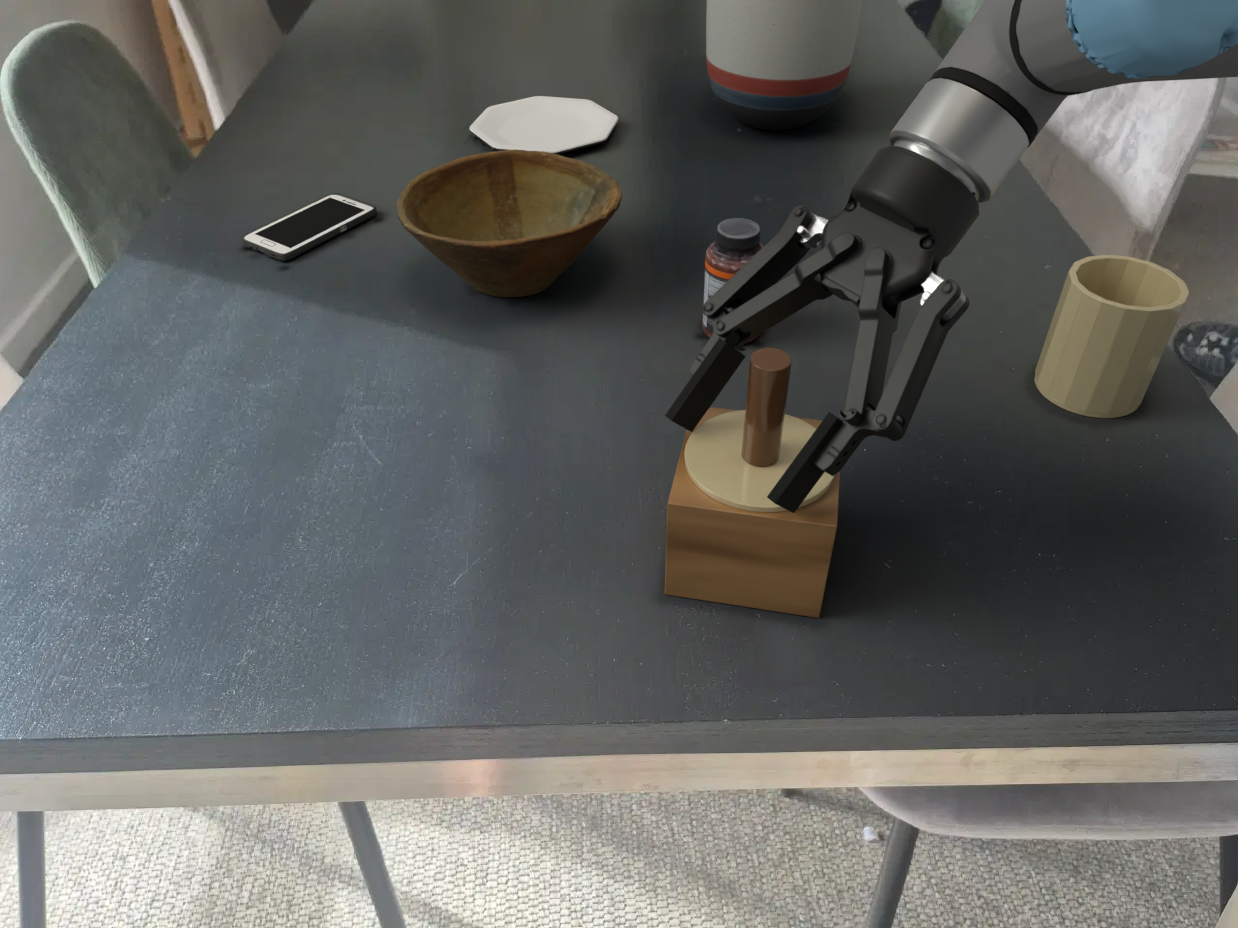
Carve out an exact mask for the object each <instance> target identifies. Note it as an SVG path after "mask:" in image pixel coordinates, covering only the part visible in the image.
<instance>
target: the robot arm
mask: <svg viewBox="0 0 1238 928" xmlns="http://www.w3.org/2000/svg"><path fill="white" fill-rule="evenodd" d="M1224 78H1226V79H1227V78H1238V0H984V1H982V4H981V5H980V6H979V8H978V9H977V11H976V12H975V13H974V14H973V16H972V18H971V19H970V21H968V24H967V25H966V26H965V27H964V29H963V30H962V32H961V34H960V35H959V37H958V38H957V39H956V41H955V42H954V44H953V45H952V46H951V48H950V49H949V51H948V52H947V54H946V55H945V56H944V57H943V59H942V60H941V62H940V64H939V65H938V66H937V68H936V69H935V71H934V72H933V74H932V75H931V76H930V77H929V79H928V81H927V82H926V83H925V84H924V86H923V87H922V88H921V90H920V91H919V92H918V94H917V95H916V97H915V98H914V99H913V101H912V102H911V104H909V106H908V108H907V109H906V111H905V112H904V113H903V115H902V116H901V117H900V118H899V120H898V122H896V124H895V126H894V127H893V129H892V130H891V131H890V132H889V134H888V135H889V136H888V140H889V143H890V145H887V146H884V147H881V148H879V150H878V151H877V152H876V153H875V155H874V156H873V158H872V159H871V160H870V162H869V164H867V166H866V168H865V169H864V171H863V172H862V173H861V175H860V176H859V177H858V179H857V180H856V182H855V183H854V184H853V186H852V188H851V189H850V194H849V197H848V200H847V202H846V205H845V206H844V208H843V209H842V210H840V211H839V213H837V214H836V215H834V216H832V217H831V218H829V219H827V218H825V217H822V216H820V215H817V214H814V213H813V212H812V211H811V210H810V209H809V208H808V207H807V206H806V205H805V204H803V203H800V204H797V205H796V206H794V207H793V208H792V209H791V211H790V213H789V214H788V216H787V218H786V219H785V221H784V223H783V224H782V226H781V228H780V229H779V231H778V232H777V233H775V235H774V236H772V237H771V239H770V240H768V241H767V242H766V244H765V245H763V246H764V247H763V248H762V249H761V250H759V251H758V252H757V253H756V254H755V255H754V256H753V257H752V258H751V259H750V260H749V261H748V262H747V263H746V264H745V265H744V266H743V267H742V268H741V269H740V270H739V271H738V272H737V273H735V274H734V275H733V276H732V277H731V278H730V279H729V280H728V281H727V282H726V283H725V284H724V285H723V286H722V287H721V288H720V289H719V290H718V291H717V292H716V293H715V294H714V295H713V296H711V297H710V298H709V299H708V300H707V301H706V302H705V304H704V305H703V304H702V307H703V308H702V307H701V312H702V315H703V314H705V315H706V316H707V317H708V319H709V321H710V322H711V324H712V326H713V333H712V336H711V337H710V338H708V340H707V341H706V343H705V344H704V346H702V347H703V348H702V349H701V350H700V352H699V353H698V354H697V356H696V358H695V359H694V360H693V362H692V363H691V365H690V367H689V368H690V369H689V370H688V372H689V373H690V374H691V375H692V376H691V378H690V379H689V380H688V381H687V383H686V385H685V386H684V387H683V389H682V390H681V392H680V393H679V394H678V396H677V398H676V399H675V400H674V402H673V403H672V404H671V406H670V407H669V409H668V410H667V411H666V413H665V415H664V417H666V418H667V419H668V420H669V421H671V422H672V423H675V424H676V425H677V426H679V427H682V428H683V429H685V430H689V431H691V432H692V431H693V430H694V429H695V427H696V426H697V424H698V423H699V422H700V420H701V419H702V417H703V416H704V415H705V413H706V412H707V410H708V409H709V407H712V405H713V403H714V402H715V400H716V399H717V398H718V396H719V395H720V393H721V392H722V391H723V390H724V388H725V386H726V385H727V384H728V382H729V381H730V380H731V378H732V377H733V375H734V374H735V372H736V371H737V370H738V368H739V367H740V365H741V364H742V363H743V361H744V360H745V358H746V355H744V354H743V353H742V352H744V351H746V348H745V344H747V343H746V342H748V341H750V340H751V339H753V338H755V337H756V336H758V335H759V336H760V335H762V334H763V333H765V332H766V331H768V330H769V329H771V328H773V327H774V326H777V324H779V323H781V322H782V321H784V320H786V319H787V318H790V317H791V316H792V315H794V314H796V313H797V312H799V311H800V310H802V309H804V308H805V307H807V306H808V305H810V304H812V303H813V302H815V301H823V300H827V299H828V298H830V297H831V296H835V297H837V298H838V299H840V300H842V301H846V302H851V303H852V304H854V305H855V306H856V308H858V316H859V325H858V329H857V330H858V331H857V334H856V335H857V336H856V342H855V345H854V346H855V347H854V352H853V357H852V363H851V369H850V374H849V380H848V386H847V391H846V396H845V402H844V407H843V409H838V410H837V414H838V416H836V415H835V414H833V413H831V411H829V412H828V413H827V414H826V415H825V416H824V418H823V419H822V420H823V421H822V422H821V424H820V425H819V426H818V428H817V429H816V430H815V432H814V433H813V435H812V436H811V437H810V439H809V440H808V441H807V443H806V444H805V445H804V447H803V448H802V450H801V451H800V452H799V454H798V455H797V456H796V458H795V459H794V460H793V462H792V463H791V465H790V466H789V467H788V469H787V470H786V471H785V473H784V474H783V476H782V477H781V478H780V480H779V481H778V482H777V484H776V485H775V486H774V488H773V489H772V491H771V492H770V493H769V495H768V496H767V498H769V499H770V500H771V501H772V502H774V503H775V504H777V505H779V506H781V507H783V508H784V509H786V510H788V511H790V512H792V513H795V511H796V510H797V509H798V507H799V506H800V505H801V503H802V502H803V501H804V499H805V498H806V496H807V495H808V494H809V492H810V491H811V490H812V488H813V487H814V486H815V484H816V483H817V482H818V480H819V479H820V478H821V476H822V475H823V473H824V472H826V473H828V474H830V475H831V476H834V475H835V474H837V473H838V472H840V473H841V471H842V469H843V467H844V466H845V465H846V464H847V463H848V461H849V459H850V458H851V457H852V455H853V454H854V453H855V451H856V450H857V449H858V447H859V446H860V445H861V443H862V442H863V441H864V440H865V439H866V438H868V437H871V436H876V437H881V438H884V439H885V438H886V439H888V440H890V441H891V442H897V441H900V440H902V439H903V437H904V436H905V434H906V432H907V430H908V427H909V425H910V423H911V420H912V418H913V416H914V413H915V411H916V408H917V406H918V404H919V401H920V399H921V396H922V395H923V392H924V389H925V387H926V385H927V383H928V381H929V378H930V376H931V373H932V371H933V368H934V366H935V364H936V361H937V359H938V356H939V355H940V352H941V350H942V347H943V346H944V343H945V340H946V338H947V335H948V334H949V331H951V329H952V328H953V327H954V325H955V324H956V323H957V322H958V321H959V320H960V319H961V317H962V316H963V315H964V314H965V313H966V311H967V310H968V309H969V307H970V305H971V302H970V299H969V297H968V296H967V294H965V292H964V291H963V289H962V288H961V287H960V285H959V284H958V283H957V281H956V280H954V279H950V278H949V279H948V278H947V279H944V278H942V277H941V276H939V275H938V271H939V267H940V265H941V263H942V261H943V260H944V259H946V258H947V257H949V256H950V255H951V254H952V253H953V251H954V250H955V249H956V248H957V246H958V245H959V244H960V242H961V240H963V238H964V237H965V235H966V234H967V232H968V231H969V230H970V228H971V227H972V226H973V224H974V223H975V221H976V220H977V219H978V217H980V204H983V203H985V202H988V201H990V200H991V198H992V197H993V195H994V194H995V193H996V192H997V190H998V189H999V188H1000V186H1001V185H1002V184H1003V182H1004V181H1005V180H1006V179H1007V177H1008V176H1009V175H1010V173H1011V171H1012V170H1013V169H1014V168H1015V166H1016V165H1017V163H1019V161H1020V160H1021V158H1022V157H1023V155H1024V154H1025V153H1026V151H1027V150H1028V148H1030V146H1032V144H1033V142H1034V141H1035V140H1036V137H1037V136H1038V135H1039V133H1041V131H1042V130H1043V128H1044V127H1045V125H1047V123H1048V122H1049V121H1050V119H1051V118H1052V116H1054V114H1055V112H1056V111H1057V110H1058V108H1059V107H1060V106H1061V104H1062V103H1063V102H1064V101H1065V100H1066V99H1067V98H1068V97H1070V96H1075V95H1081V94H1085V93H1088V92H1089V93H1090V92H1093V91H1096V90H1100V89H1101V90H1102V89H1106V88H1110V87H1115V86H1119V85H1120V86H1121V85H1126V84H1135V83H1147V82H1165V81H1167V82H1169V81H1188V80H1206V79H1207V80H1208V79H1224ZM820 241H821V245H820V243H819V242H820ZM819 246H821V247H820V250H818V251H816V252H815V253H813V254H812V255H810V256H808V257H807V258H805V259H804V260H802V259H803V258H804V257H805V256H806V255H807V253H808V252H809V251H810V249H814V250H815V249H817V248H818V247H819ZM801 260H802V261H801ZM794 267H795V270H794V271H793V272H792V273H790V274H789V275H787V274H788V273H789V272H790V271H791V270H792V269H793V268H794ZM786 275H787V276H786ZM783 277H784V278H783ZM918 295H921V297H920V301H919V303H920V304H919V305H920V308H919V309H918V311H917V313H916V315H915V316H914V319H913V321H912V322H911V325H910V328H909V330H908V333H907V335H906V337H905V339H904V342H903V344H902V346H901V349H900V351H899V354H898V356H897V358H896V361H895V363H894V366H893V368H892V370H891V372H890V374H889V377H888V380H887V382H886V384H885V380H886V376H887V375H886V374H887V369H888V363H889V357H890V352H891V347H892V342H893V341H892V339H893V336H894V333H896V332H897V329H898V324H899V320H900V314H901V308H902V302H905V301H908V300H909V299H912V298H913V297H916V296H918ZM759 336H758V337H759ZM748 343H749V342H748ZM884 386H885V387H884Z"/></svg>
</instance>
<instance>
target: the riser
mask: <svg viewBox="0 0 1238 928" xmlns="http://www.w3.org/2000/svg"><path fill="white" fill-rule="evenodd" d="M733 411H739V409H731V408H721V407H714V406H710V407H709V409H708V410H707V412H706V413H705V415H704V416H703V417H702V419H701V420H700V422H699V423H698V424H697V426H696V427H695V429H696V428H697V427H699V426H700V425H701V424H702V423H704V422H706V421H707V420H709V419H711V418H713V417H715V416H718V415H721V414H724V413H728V412H733ZM795 417H796V418H798V419H800V420H803V421H804V422H806V423H808V424H810V425H811V426H813V427H814V428H816V429H817V428H818V426H819V425H820V424H821V422H822V421H823V419H822V420H821V419H814V418H806V417H805V418H804V417H799V416H798V417H797V416H795ZM695 429H694V430H695ZM694 430H693V431H692V432H691V431H689V430H687V429H685V433H684V439H683V442H682V444H681V449H680V454H679V457H678V461H677V465H676V469H675V473H674V478H673V480H672V484H671V488H670V492H669V496H668V500H667V509H666V535H665V536H666V538H665V569H664V595H667V596H673V597H680V598H687V599H692V600H700V601H705V602H706V601H707V602H712V603H719V604H723V605H724V604H725V605H731V606H738V607H745V608H752V609H758V610H763V611H769V612H770V611H771V612H778V613H782V614H783V613H784V614H789V615H790V614H791V615H796V616H801V617H802V616H803V617H808V618H809V617H810V618H815V619H816V618H817V619H819V618H820V616H821V612H822V606H823V602H824V601H823V600H824V595H825V592H826V591H825V590H826V585H827V581H828V575H829V570H830V565H831V560H832V555H833V550H834V544H835V539H836V535H837V529H838V520H839V501H840V486H841V485H840V483H841V471H840V472H838V473H837V474H835V478H834V480H833V483H832V484H831V486H830V487H829V489H828V490H827V491H826V492H825V493H824V494H823V495H822V496H821V497H819V498H818V499H817V500H815V501H813V502H811V503H810V504H807V505H805V506H803V507H800V508H798V509H797V510H796V511H795V513H792V512H790V511H782V512H753V511H747V510H741V509H738V508H734V507H731V506H728V505H726V504H723V503H721V502H719V501H717V500H715V499H713V498H711V497H710V496H708V495H707V494H705V493H704V492H703V491H702V490H700V489H699V488H698V487H697V486H696V485H695V483H694V482H693V481H692V479H691V478H690V476H689V474H688V472H687V470H686V467H685V462H684V452H685V446H686V443H687V440H688V439H689V437H690V435H691V434H692V433H693V432H694Z"/></svg>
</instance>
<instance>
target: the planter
mask: <svg viewBox="0 0 1238 928" xmlns="http://www.w3.org/2000/svg"><path fill="white" fill-rule="evenodd" d="M863 1H864V0H706V10H705V11H706V14H705V15H706V17H705V18H706V19H705V47H706V48H705V56H706V57H705V58H706V59H705V60H706V69H707V77H708V79H709V84H710V87H711V91H712V93H713V95H714V97H715V99H716V100H717V102H718V103H719V104H720V106H721V107H722V108H723V109H724V110H725V111H726V112H727V113H728V114H729V115H730V116H732V117H733V118H734V119H735V120H737V121H739V122H740V123H742V124H744V125H747V126H750V127H752V128H756V129H760V130H767V131H784V130H792V129H794V128H798V127H803V126H804V125H806V124H809V123H810V122H812V121H814V120H816V119H817V118H819V117H820V116H821V115H823V114H824V113H825V112H826V111H827V110H829V109H830V108H831V106H832V105H834V103H835V101H836V100H837V99H838V98H839V96H840V94H841V92H842V90H843V88H844V85H845V84H846V81H847V78H848V77H849V72H850V69H851V65H852V61H853V57H854V53H855V52H854V51H855V46H856V42H857V36H858V30H859V25H860V19H861V13H862V7H863Z"/></svg>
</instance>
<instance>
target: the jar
mask: <svg viewBox="0 0 1238 928" xmlns="http://www.w3.org/2000/svg"><path fill="white" fill-rule="evenodd" d="M1189 296H1190V290H1189V288H1188V286H1187V284H1186V282H1185V280H1183V279H1182V278H1180V277H1179V276H1178V275H1177V274H1176V273H1174V272H1173V271H1171V270H1170V269H1168V268H1166V267H1164V266H1161V265H1159V264H1157V263H1155V262H1152V261H1149V260H1144V259H1142V258H1141V259H1140V258H1137V257H1133V256H1127V255H1118V254H1117V255H1116V254H1101V255H1100V254H1099V255H1092V256H1091V255H1089V256H1086V257H1083V258H1081V259H1078V260H1076V261H1074V262H1073V264H1072V265H1071V267H1070V268H1069V270H1068V272H1067V275H1066V278H1065V280H1064V283H1063V286H1062V289H1061V293H1060V296H1059V298H1058V302H1057V305H1056V308H1055V310H1054V314H1053V316H1052V319H1051V322H1050V325H1049V329H1048V331H1047V334H1046V337H1045V340H1044V343H1043V346H1042V349H1041V352H1040V355H1039V358H1038V360H1037V364H1036V367H1035V370H1034V377H1033V378H1034V384H1035V387H1036V388H1037V390H1038V392H1039V393H1040V394H1041V395H1042V396H1043V397H1044V398H1045V399H1046V400H1047V401H1049V402H1051V403H1052V404H1053V405H1055V406H1057V407H1059V408H1061V409H1063V410H1065V411H1067V412H1071V413H1073V414H1077V415H1079V416H1084V417H1087V418H1096V419H1097V418H1098V419H1116V418H1121V417H1125V416H1129V415H1130V414H1132V413H1134V412H1135V411H1137V410H1138V409H1139V408H1140V406H1141V405H1142V403H1143V401H1144V398H1145V395H1146V393H1147V391H1148V389H1149V387H1150V384H1151V382H1152V380H1153V377H1154V375H1155V373H1156V370H1157V369H1158V366H1159V364H1160V361H1161V359H1162V358H1163V357H1162V356H1163V355H1164V352H1165V350H1166V347H1167V345H1168V343H1169V342H1170V341H1169V340H1170V338H1171V336H1172V334H1173V331H1174V329H1175V327H1176V324H1178V323H1177V322H1178V320H1179V317H1180V316H1181V314H1182V311H1183V309H1184V307H1185V305H1186V301H1187V300H1188V298H1189Z"/></svg>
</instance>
